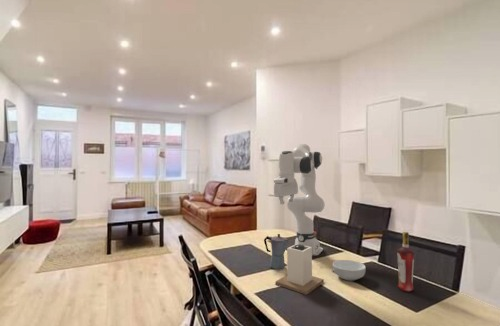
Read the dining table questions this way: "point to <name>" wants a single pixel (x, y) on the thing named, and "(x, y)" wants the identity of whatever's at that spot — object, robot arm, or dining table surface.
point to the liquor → (405, 265)
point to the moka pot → (277, 251)
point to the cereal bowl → (349, 269)
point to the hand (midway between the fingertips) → (286, 203)
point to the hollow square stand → (299, 271)
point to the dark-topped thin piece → (299, 247)
